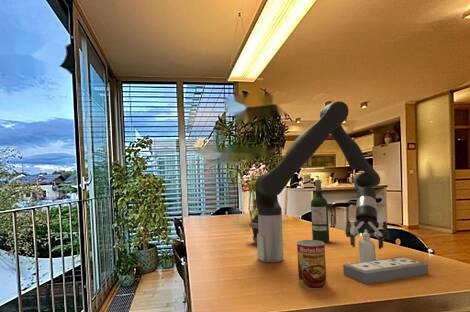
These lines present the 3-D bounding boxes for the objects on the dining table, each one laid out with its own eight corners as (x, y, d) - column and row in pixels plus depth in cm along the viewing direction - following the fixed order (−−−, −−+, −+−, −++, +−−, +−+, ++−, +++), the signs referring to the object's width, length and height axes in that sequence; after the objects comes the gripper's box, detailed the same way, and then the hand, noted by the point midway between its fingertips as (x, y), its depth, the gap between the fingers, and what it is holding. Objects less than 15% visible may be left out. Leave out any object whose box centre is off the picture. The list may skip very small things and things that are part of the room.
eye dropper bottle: (370, 262, 110) (368, 228, 110) (377, 266, 104) (375, 231, 105) (358, 262, 110) (356, 228, 111) (364, 266, 104) (362, 231, 105)
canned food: (302, 289, 84) (301, 245, 85) (295, 280, 92) (294, 240, 93) (330, 288, 84) (328, 244, 85) (321, 279, 92) (319, 239, 93)
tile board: (366, 284, 87) (365, 272, 87) (343, 274, 96) (343, 263, 97) (428, 273, 95) (427, 263, 95) (401, 265, 104) (401, 255, 104)
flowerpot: (249, 240, 154) (248, 201, 156) (280, 240, 153) (278, 200, 155) (249, 246, 140) (248, 203, 141) (282, 246, 139) (281, 202, 140)
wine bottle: (313, 243, 144) (310, 180, 146) (312, 239, 152) (309, 179, 154) (330, 243, 143) (327, 179, 145) (328, 239, 150) (325, 179, 153)
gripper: (345, 204, 118) (343, 239, 107) (386, 204, 112) (388, 242, 101) (348, 216, 123) (346, 251, 111) (387, 217, 116) (389, 254, 105)
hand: (366, 246), depth 106 cm, fingers open, 8 cm apart
